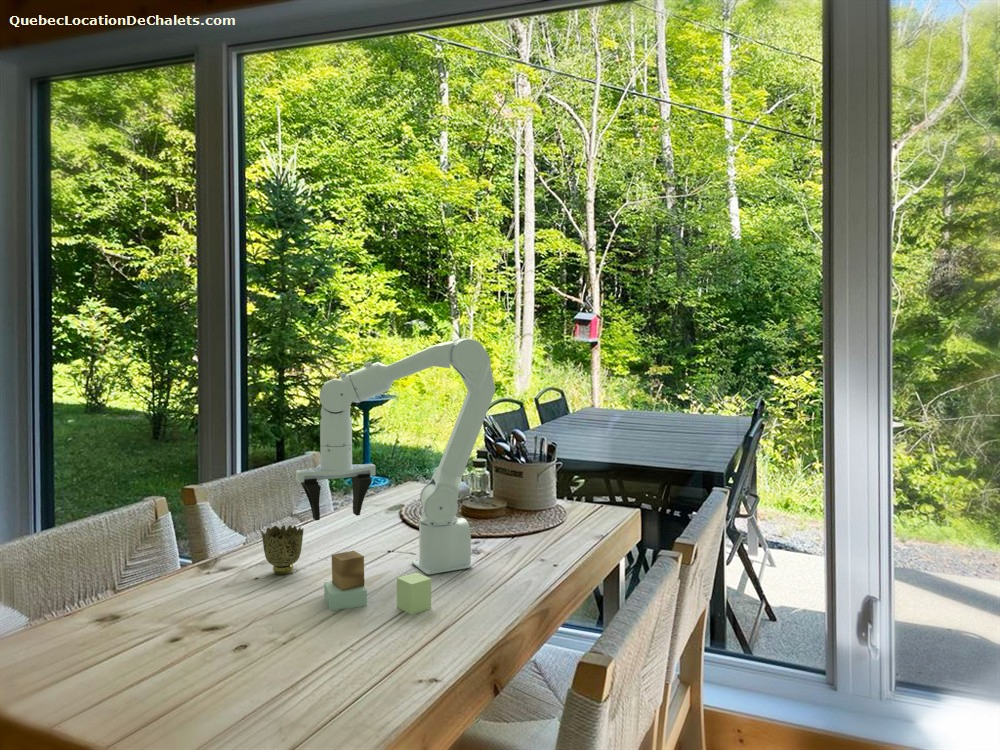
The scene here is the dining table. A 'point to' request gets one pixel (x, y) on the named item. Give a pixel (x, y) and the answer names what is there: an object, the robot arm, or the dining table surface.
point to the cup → (282, 547)
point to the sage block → (413, 593)
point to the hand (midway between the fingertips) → (336, 516)
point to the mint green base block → (344, 597)
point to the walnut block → (347, 570)
